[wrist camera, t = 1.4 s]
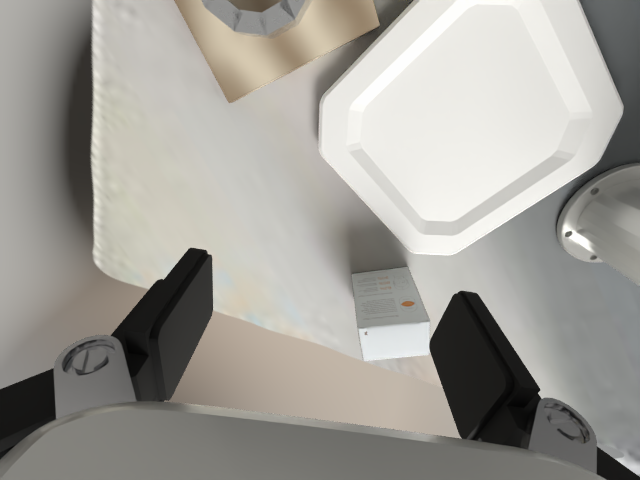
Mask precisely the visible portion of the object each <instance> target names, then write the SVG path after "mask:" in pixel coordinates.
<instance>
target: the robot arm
mask: <svg viewBox="0 0 640 480" xmlns="http://www.w3.org/2000/svg"><path fill="white" fill-rule="evenodd" d="M557 237H558V241H559V243H560V245H561V246H562V248H563V249H564V250H565V251H567V252H568V253H569V254H570V255H572V256H573V257H575V258H577V259H580V260H582V261H587V262H605V263H607V264H608V265H610V266H611V267H612V268H614V269H615V270H617V271H618V272H620V273H621V274H622V275H624V276H625V277H627V278H628V279H630V280H631V281H632V282H634V283H635V284H637V285H638V286H640V163H632V164H627V165H622V166H619V167H616V168H613V169H610V170H608V171H606V172H604V173H602V174H600V175H598V176H597V177H595V178H594V179H592V180H590V181H589V182H587V183H586V184H585V185H584V186H583V187H581V188H580V189H579V190H578V191H577V192H576V193H575V194H574V195H573V196H572V197H571V198H570V200H569V201H568V202H567V204H566V205H565V207H564V208H563V210H562V212H561V215H560V217H559V220H558V224H557ZM212 312H213V281H212V255H209V254H208V253H207V251H206V250H202V249H196V248H189V249H188V251H187V252H186V253H185V254H184V255H183V257H182V258H181V259H180V260H179V262H178V263H177V264H176V265H175V267H174V268H173V269H172V270H171V272H170V273H169V274H168V275H167V277H166V278H165V279H164V280H163V279H160V280H157V281H156V282H155V283H154V284H153V286H152V287H151V288H150V289H149V290H148V292H147V293H146V294H145V295H144V296H143V298H142V299H141V300H140V301H139V302H138V304H137V305H136V306H135V307H134V308H133V310H132V311H131V312H130V313H129V314H128V315H127V317H126V318H125V319H124V320H123V321H122V323H121V324H120V325H119V326H118V328H117V329H116V330H115V331H114V332H113V333H112V335H111V336H108V335H95V336H91V337H87V338H84V339H82V340H79V341H77V342H75V343H73V344H72V345H70V346H69V347H67V348H66V349H65V350H64V351H63V352H62V353H61V354H60V355H59V356H58V358H57V359H56V361H55V364H54V368H53V369H51V370H48V371H46V372H43V373H40V374H38V375H36V376H33V377H30V378H28V379H25V380H23V381H20V382H18V383H15V384H13V385H10V386H8V387H5V388H3V389H0V480H640V477H639V476H638V475H636V474H635V473H633V472H632V471H631V470H629V469H628V468H626V467H625V466H624V465H622V464H621V463H619V462H618V461H617V460H615V459H614V458H612V457H611V456H610V455H608V454H607V453H605V452H604V451H603V450H601V449H600V448H598V447H597V440H596V435H595V433H594V431H593V429H592V428H591V426H590V425H589V424H588V422H587V421H586V420H585V419H584V418H583V417H582V416H581V415H580V414H579V413H578V412H577V411H576V410H574V409H573V408H571V407H570V406H569V405H567V404H565V403H563V402H561V401H559V400H556V399H553V398H543V399H541V397H540V396H539V394H538V392H539V391H540V388H539V387H538V385H537V383H536V382H535V380H534V379H533V377H532V376H531V374H530V373H529V371H528V370H527V368H526V367H525V365H524V364H523V362H522V361H521V359H520V358H519V356H518V354H517V353H516V351H515V350H514V348H513V347H512V345H511V344H510V342H509V341H508V339H507V338H506V336H505V335H504V333H503V332H502V330H501V329H500V327H499V326H498V324H497V322H496V321H495V319H494V318H493V316H492V315H491V313H490V312H489V310H488V309H487V307H486V306H485V304H484V303H483V301H482V300H481V298H480V297H479V295H478V294H477V293H473V292H467V291H460V292H458V294H454V295H453V297H452V299H451V301H450V303H449V305H448V307H447V308H446V310H445V312H444V314H443V316H442V318H441V320H440V322H439V324H438V326H437V328H436V330H435V332H434V334H433V336H432V338H431V340H430V343H429V349H430V352H431V355H432V358H433V361H434V364H435V367H436V369H437V372H438V375H439V378H440V381H441V384H442V386H443V389H444V392H445V395H446V398H447V400H448V404H449V406H450V409H451V412H452V415H453V418H454V421H455V423H456V426H457V429H458V432H459V434H460V436H461V438H462V439H459V438H452V437H445V436H438V435H430V434H423V433H416V432H408V431H401V430H394V429H386V428H378V427H371V426H364V425H356V424H348V423H341V422H333V421H325V420H318V419H310V418H302V417H295V416H287V415H278V414H270V413H263V412H255V411H247V410H239V409H231V408H222V407H213V406H203V405H195V404H185V403H173V402H164V400H168V401H169V400H170V398H171V397H172V395H173V393H174V391H175V389H176V387H177V385H178V383H179V381H180V379H181V377H182V375H183V373H184V371H185V369H186V367H187V365H188V363H189V361H190V359H191V357H192V355H193V353H194V351H195V349H196V347H197V345H198V343H199V340H200V338H201V336H202V335H203V332H204V330H205V328H206V326H207V324H208V322H209V320H210V318H211V316H212Z"/></svg>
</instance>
